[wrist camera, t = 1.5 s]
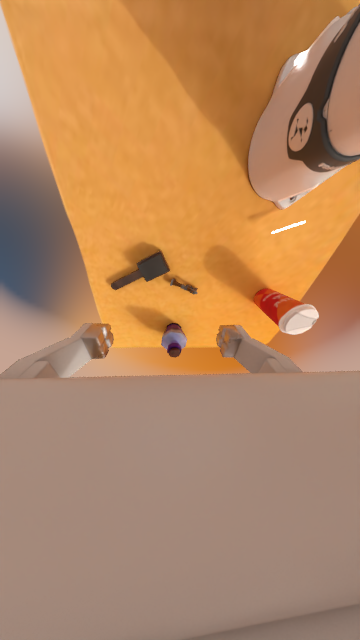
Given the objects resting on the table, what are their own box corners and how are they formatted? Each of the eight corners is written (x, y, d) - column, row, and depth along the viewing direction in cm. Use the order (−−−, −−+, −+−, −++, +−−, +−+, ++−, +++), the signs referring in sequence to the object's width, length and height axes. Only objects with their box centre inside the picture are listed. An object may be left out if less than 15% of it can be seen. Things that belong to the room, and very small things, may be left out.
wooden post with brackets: (198, 293, 39) (195, 297, 35) (175, 283, 40) (169, 285, 36) (201, 287, 38) (197, 291, 34) (177, 277, 39) (171, 279, 35)
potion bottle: (165, 339, 50) (164, 366, 40) (158, 322, 45) (155, 347, 35) (187, 335, 49) (191, 360, 39) (182, 316, 45) (185, 340, 35)
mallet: (161, 250, 33) (160, 251, 30) (170, 269, 36) (169, 272, 33) (107, 278, 36) (102, 281, 33) (119, 293, 39) (115, 298, 36)
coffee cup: (280, 284, 40) (329, 306, 28) (269, 308, 45) (308, 335, 32) (254, 284, 40) (293, 307, 27) (246, 308, 44) (276, 336, 32)
